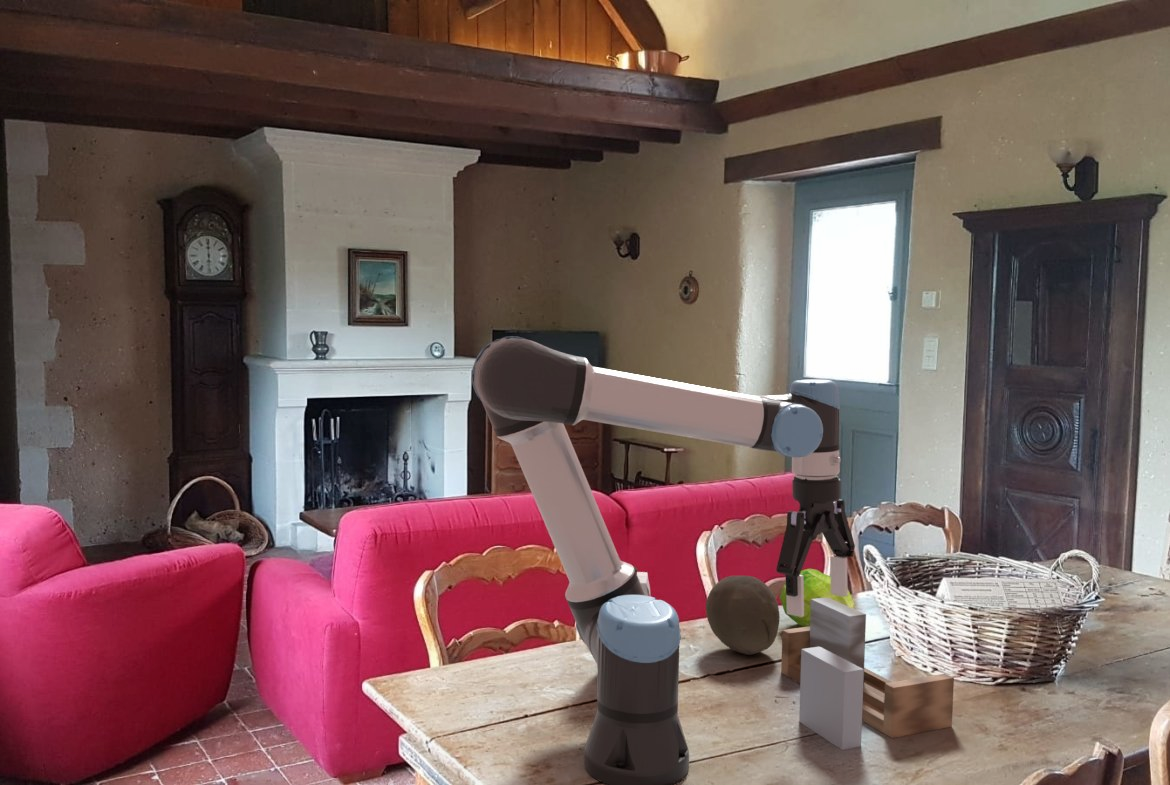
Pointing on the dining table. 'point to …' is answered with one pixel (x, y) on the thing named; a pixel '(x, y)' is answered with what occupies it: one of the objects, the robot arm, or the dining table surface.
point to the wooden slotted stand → (870, 673)
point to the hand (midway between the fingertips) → (817, 604)
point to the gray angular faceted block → (831, 697)
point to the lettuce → (814, 594)
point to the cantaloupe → (743, 614)
